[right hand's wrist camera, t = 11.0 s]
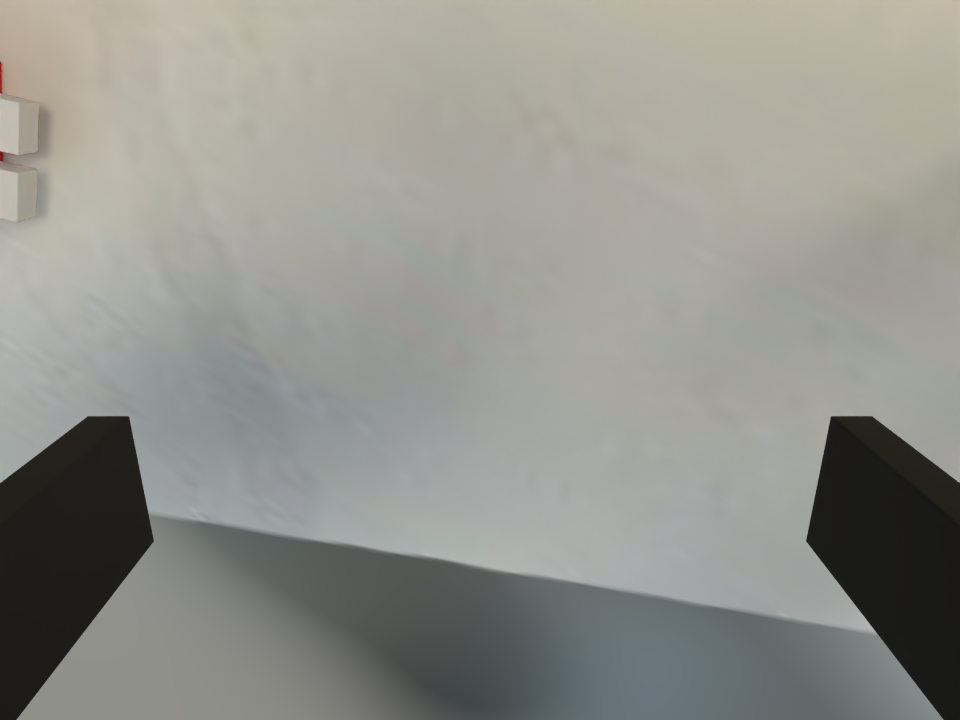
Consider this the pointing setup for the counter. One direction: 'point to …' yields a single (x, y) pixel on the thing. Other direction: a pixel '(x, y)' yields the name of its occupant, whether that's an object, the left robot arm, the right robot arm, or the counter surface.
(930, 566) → the right robot arm
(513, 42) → the counter surface
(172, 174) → the counter surface
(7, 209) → the toy
